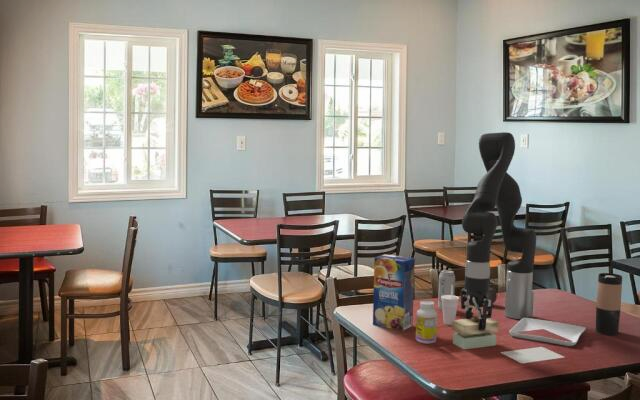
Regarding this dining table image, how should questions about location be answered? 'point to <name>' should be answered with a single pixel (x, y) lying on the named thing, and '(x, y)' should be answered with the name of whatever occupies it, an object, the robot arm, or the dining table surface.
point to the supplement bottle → (426, 323)
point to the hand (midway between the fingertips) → (475, 326)
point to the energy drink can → (445, 285)
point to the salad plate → (555, 327)
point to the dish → (474, 340)
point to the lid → (473, 326)
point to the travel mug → (608, 303)
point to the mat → (532, 355)
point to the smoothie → (449, 307)
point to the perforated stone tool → (489, 294)
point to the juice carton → (393, 291)
